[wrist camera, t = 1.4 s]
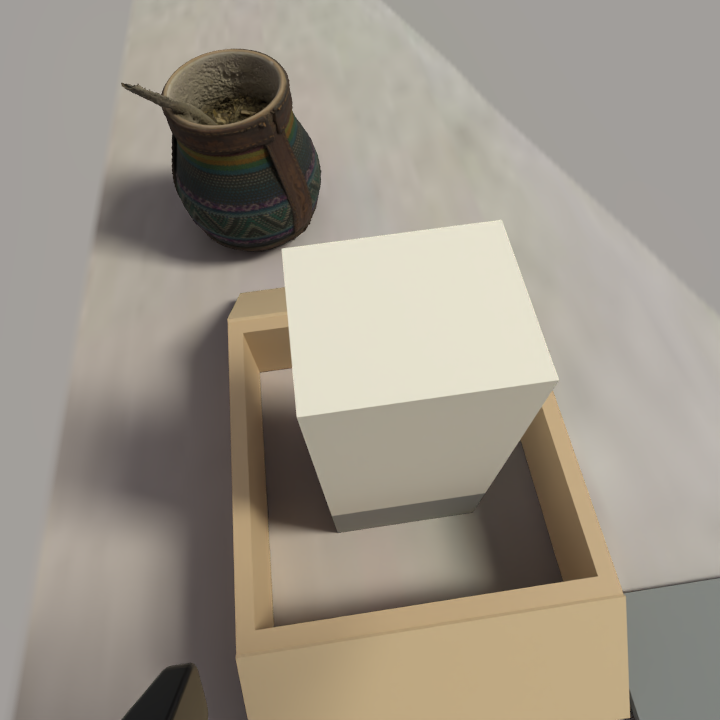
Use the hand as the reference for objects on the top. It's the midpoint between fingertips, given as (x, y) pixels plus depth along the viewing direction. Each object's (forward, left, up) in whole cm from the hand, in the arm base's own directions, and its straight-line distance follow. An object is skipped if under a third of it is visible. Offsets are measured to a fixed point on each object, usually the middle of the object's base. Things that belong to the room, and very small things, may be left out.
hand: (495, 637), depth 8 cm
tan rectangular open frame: (+7, 0, -13) cm, 15 cm away
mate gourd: (+22, +5, -13) cm, 26 cm away
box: (+7, 0, -13) cm, 15 cm away
